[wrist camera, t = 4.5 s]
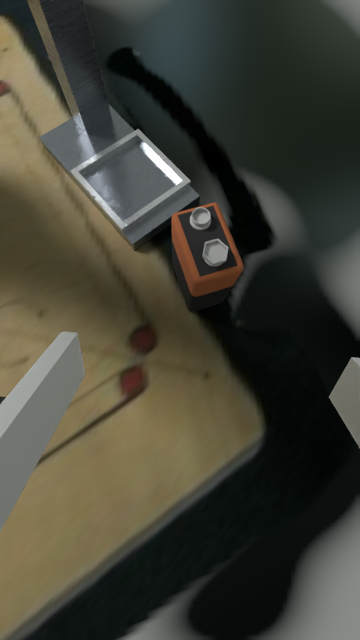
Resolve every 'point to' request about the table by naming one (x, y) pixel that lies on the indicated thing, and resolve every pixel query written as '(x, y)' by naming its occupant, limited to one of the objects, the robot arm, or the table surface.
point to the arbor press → (105, 135)
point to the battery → (204, 256)
